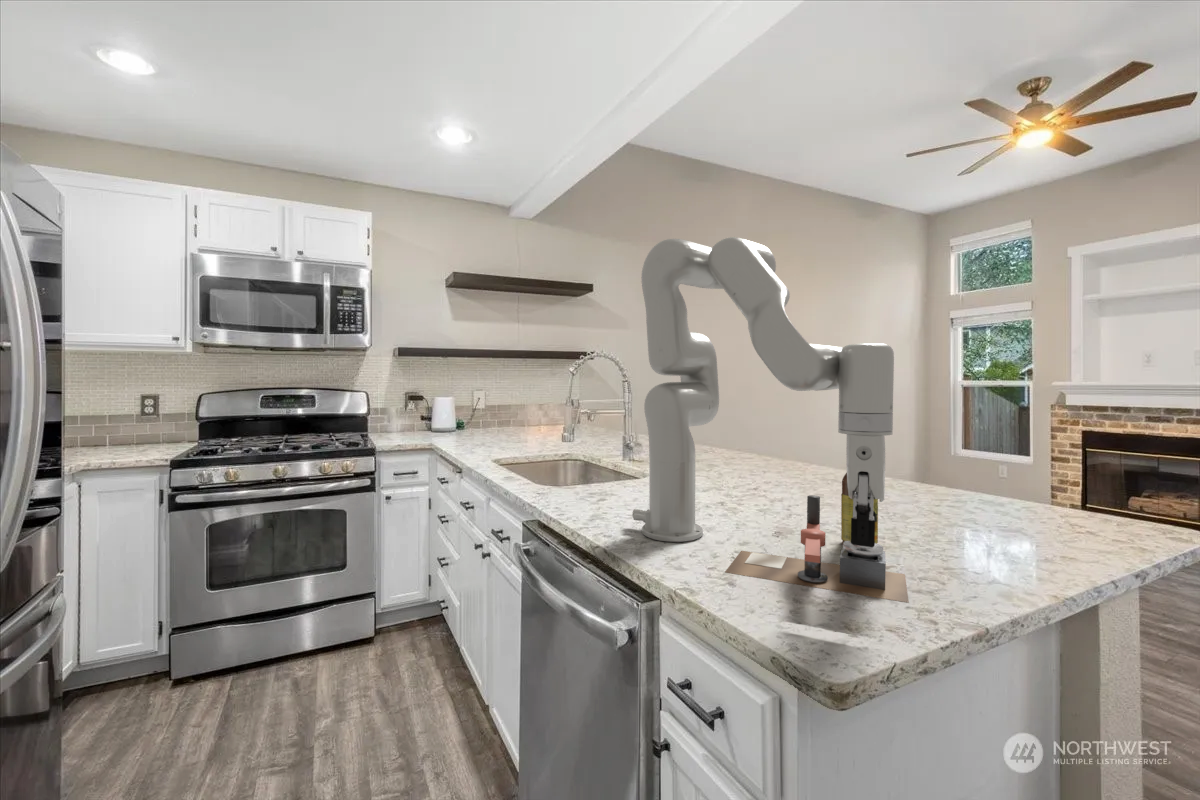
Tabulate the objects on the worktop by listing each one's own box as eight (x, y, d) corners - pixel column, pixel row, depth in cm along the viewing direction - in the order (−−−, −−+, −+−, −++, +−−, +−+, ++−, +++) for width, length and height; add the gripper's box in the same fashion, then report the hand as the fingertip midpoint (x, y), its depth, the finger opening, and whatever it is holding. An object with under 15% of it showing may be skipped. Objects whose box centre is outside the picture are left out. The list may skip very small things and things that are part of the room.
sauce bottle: (882, 556, 97) (884, 447, 96) (845, 554, 98) (847, 446, 97) (871, 545, 103) (873, 443, 102) (837, 543, 104) (838, 442, 104)
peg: (841, 582, 82) (842, 518, 82) (843, 570, 87) (844, 510, 87) (882, 589, 79) (884, 522, 79) (882, 576, 84) (883, 514, 84)
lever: (802, 527, 92) (802, 494, 92) (824, 529, 91) (825, 496, 90) (798, 562, 75) (799, 521, 75) (826, 565, 74) (826, 524, 73)
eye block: (839, 582, 82) (839, 557, 82) (841, 569, 87) (842, 545, 87) (885, 590, 79) (885, 563, 79) (884, 576, 85) (885, 551, 84)
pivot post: (795, 580, 83) (796, 547, 83) (799, 571, 87) (799, 540, 87) (826, 585, 81) (826, 552, 81) (828, 576, 85) (829, 543, 85)
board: (724, 578, 87) (724, 571, 87) (741, 555, 97) (741, 549, 97) (908, 609, 75) (908, 601, 75) (904, 580, 85) (904, 573, 85)
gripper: (894, 430, 73) (891, 560, 74) (891, 420, 88) (889, 529, 89) (834, 427, 76) (832, 552, 77) (841, 419, 91) (840, 523, 92)
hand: (863, 538), depth 83 cm, fingers open, 5 cm apart
